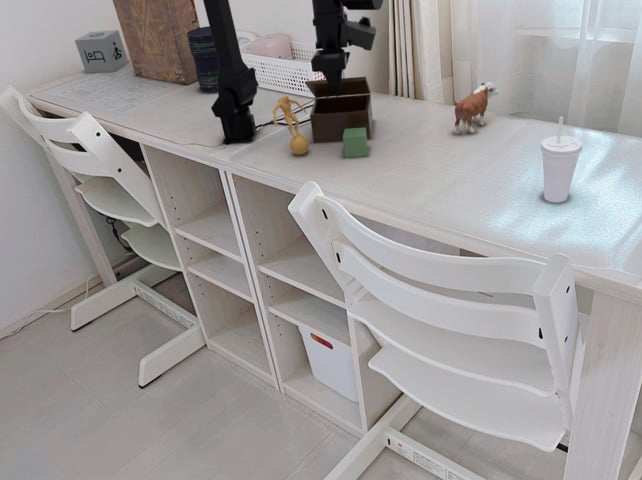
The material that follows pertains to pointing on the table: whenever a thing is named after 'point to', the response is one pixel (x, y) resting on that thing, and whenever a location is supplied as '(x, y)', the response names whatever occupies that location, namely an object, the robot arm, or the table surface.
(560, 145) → the smoothie
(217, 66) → the storage jar
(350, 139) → the block
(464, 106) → the bull figurine
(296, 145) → the figurine
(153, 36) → the book
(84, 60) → the icon cube
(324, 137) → the box
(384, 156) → the table surface
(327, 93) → the lid
